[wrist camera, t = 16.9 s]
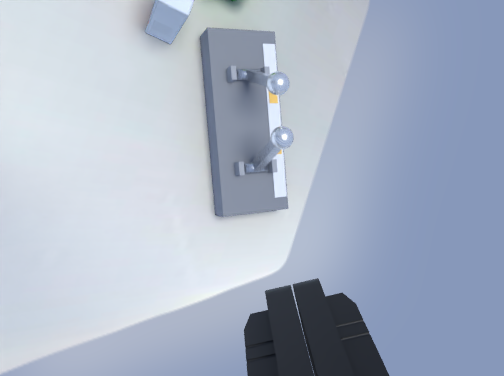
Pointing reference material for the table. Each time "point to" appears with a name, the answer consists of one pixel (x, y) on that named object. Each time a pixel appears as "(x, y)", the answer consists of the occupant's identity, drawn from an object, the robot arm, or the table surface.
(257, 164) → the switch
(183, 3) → the skincare box
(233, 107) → the switch console
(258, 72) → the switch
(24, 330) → the table surface
